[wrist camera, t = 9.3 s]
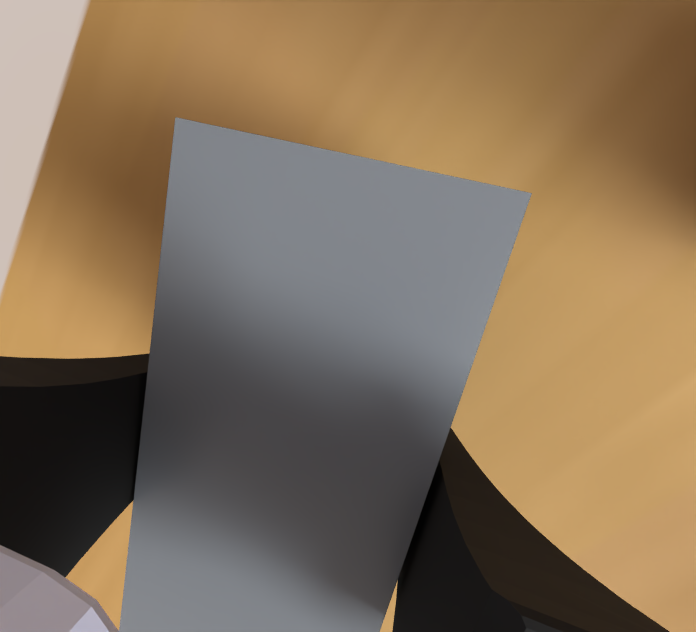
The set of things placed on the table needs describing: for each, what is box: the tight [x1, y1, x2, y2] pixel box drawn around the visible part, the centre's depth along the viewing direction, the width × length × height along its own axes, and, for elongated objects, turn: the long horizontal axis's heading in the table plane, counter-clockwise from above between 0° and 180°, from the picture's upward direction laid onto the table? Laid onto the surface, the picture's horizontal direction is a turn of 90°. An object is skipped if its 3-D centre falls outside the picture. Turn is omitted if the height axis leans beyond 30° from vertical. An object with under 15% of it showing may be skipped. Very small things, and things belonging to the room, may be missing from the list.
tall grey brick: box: [119, 117, 532, 632], centre depth 10 cm, size 6×13×6 cm, turn 166°
